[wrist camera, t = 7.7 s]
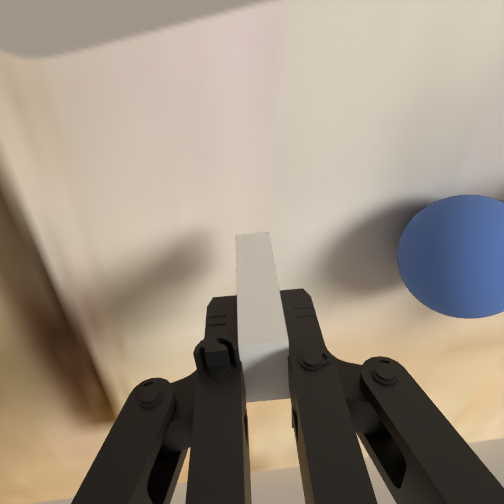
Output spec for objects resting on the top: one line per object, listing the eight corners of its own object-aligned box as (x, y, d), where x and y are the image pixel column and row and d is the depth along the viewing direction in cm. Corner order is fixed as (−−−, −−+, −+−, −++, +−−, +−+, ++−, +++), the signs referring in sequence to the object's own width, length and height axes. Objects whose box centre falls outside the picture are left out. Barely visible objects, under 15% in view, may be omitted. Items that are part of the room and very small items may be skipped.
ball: (541, 232, 19) (423, 199, 21) (589, 200, 13) (424, 162, 16) (496, 336, 19) (384, 291, 22) (525, 346, 14) (371, 284, 16)
